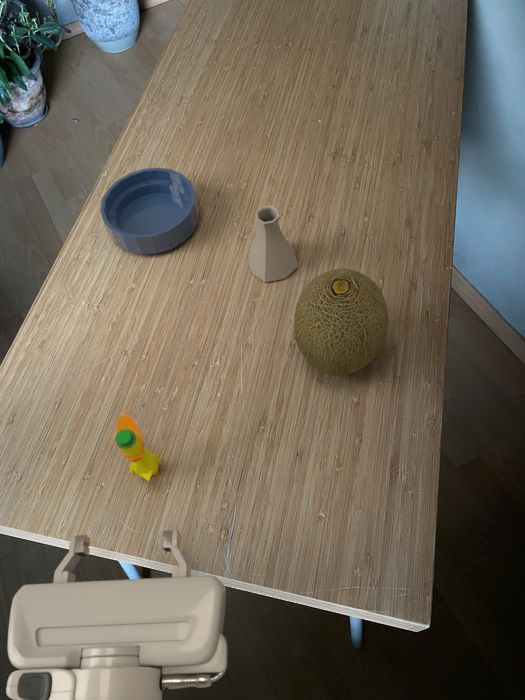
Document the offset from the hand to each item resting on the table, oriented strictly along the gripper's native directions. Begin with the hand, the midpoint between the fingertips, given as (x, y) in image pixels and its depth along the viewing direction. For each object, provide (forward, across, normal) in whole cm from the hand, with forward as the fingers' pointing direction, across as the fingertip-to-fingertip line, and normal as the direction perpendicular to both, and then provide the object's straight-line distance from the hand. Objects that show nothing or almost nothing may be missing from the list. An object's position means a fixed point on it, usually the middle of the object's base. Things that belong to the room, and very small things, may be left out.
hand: (126, 534), depth 60 cm
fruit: (+24, -24, +7) cm, 34 cm away
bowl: (+50, +2, +7) cm, 50 cm away
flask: (+40, -16, +7) cm, 43 cm away
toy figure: (+10, 0, +7) cm, 12 cm away
